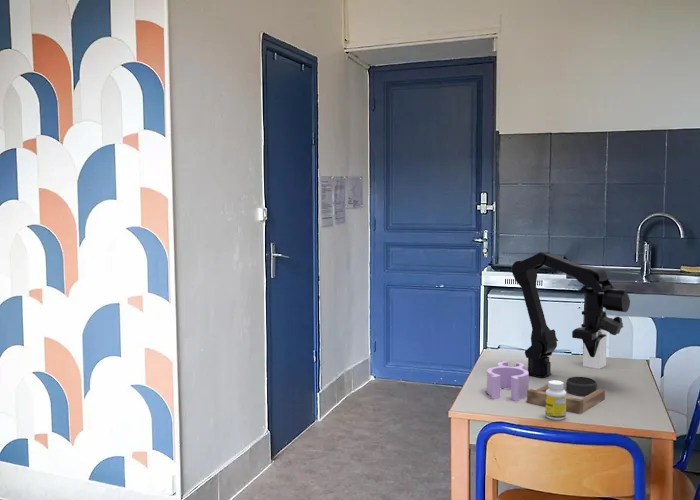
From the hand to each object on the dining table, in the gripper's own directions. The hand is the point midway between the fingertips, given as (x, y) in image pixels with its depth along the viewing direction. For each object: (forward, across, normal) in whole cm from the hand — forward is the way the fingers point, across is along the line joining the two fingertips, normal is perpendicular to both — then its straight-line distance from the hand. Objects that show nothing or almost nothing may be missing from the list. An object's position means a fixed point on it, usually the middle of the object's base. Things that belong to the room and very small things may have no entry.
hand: (592, 356), depth 213 cm
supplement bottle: (+10, -36, -4) cm, 37 cm away
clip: (+10, -22, +18) cm, 30 cm away
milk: (+10, +24, +9) cm, 28 cm away
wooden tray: (+9, -18, 0) cm, 21 cm away
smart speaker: (+10, -8, 0) cm, 13 cm away
